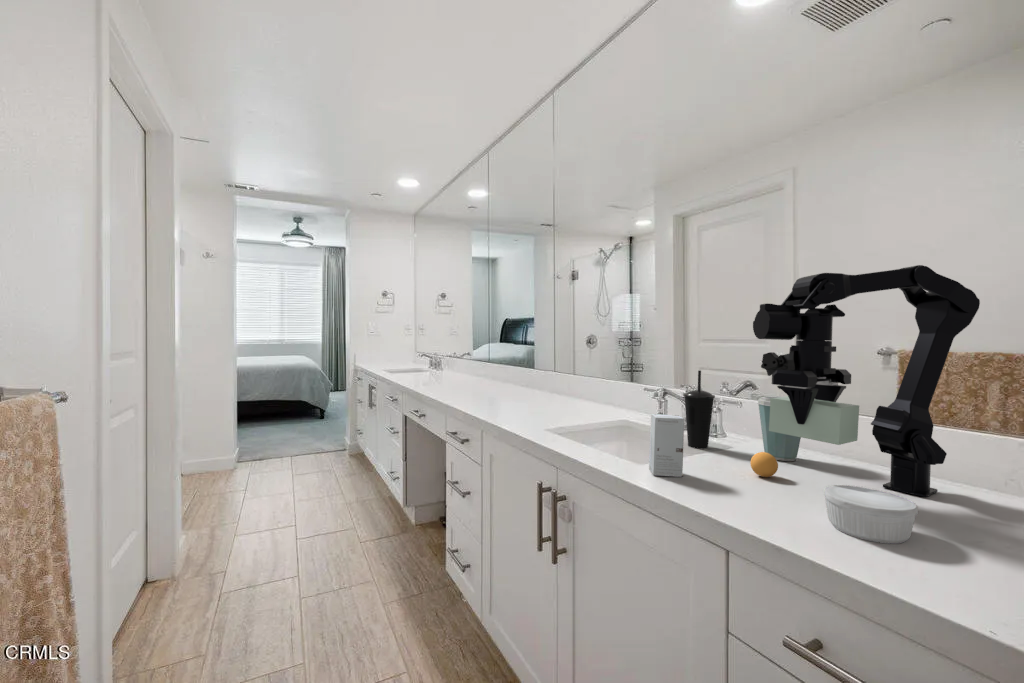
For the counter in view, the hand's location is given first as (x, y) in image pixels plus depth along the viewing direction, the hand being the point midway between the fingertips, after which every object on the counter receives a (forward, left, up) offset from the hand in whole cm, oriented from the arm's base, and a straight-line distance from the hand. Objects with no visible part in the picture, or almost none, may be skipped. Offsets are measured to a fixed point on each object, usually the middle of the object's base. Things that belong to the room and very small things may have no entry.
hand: (811, 422), depth 87 cm
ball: (0, -9, -10) cm, 13 cm away
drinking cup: (-10, -32, -13) cm, 36 cm away
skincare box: (+17, -20, -13) cm, 29 cm away
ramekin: (+13, +14, -13) cm, 23 cm away
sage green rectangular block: (0, 0, -3) cm, 3 cm away
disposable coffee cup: (-18, -15, -13) cm, 27 cm away
